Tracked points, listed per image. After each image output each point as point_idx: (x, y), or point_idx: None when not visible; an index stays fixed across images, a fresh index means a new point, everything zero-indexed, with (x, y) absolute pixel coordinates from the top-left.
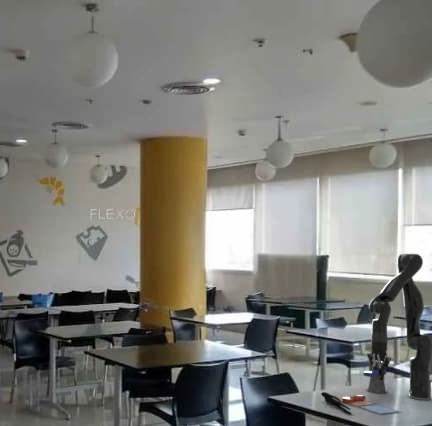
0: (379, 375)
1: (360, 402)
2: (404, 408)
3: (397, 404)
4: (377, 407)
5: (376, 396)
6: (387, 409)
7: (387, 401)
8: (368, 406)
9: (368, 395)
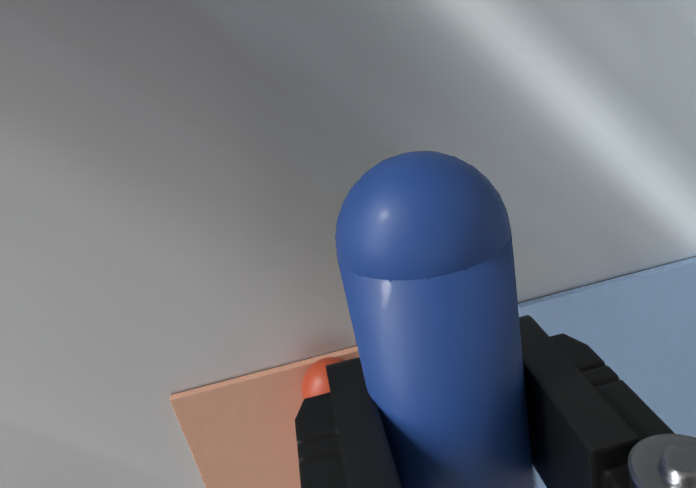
0: None
1: None
2: (677, 65)
3: (511, 22)
4: None
5: (71, 37)
6: (684, 313)
7: (358, 60)
8: None
9: (20, 129)
